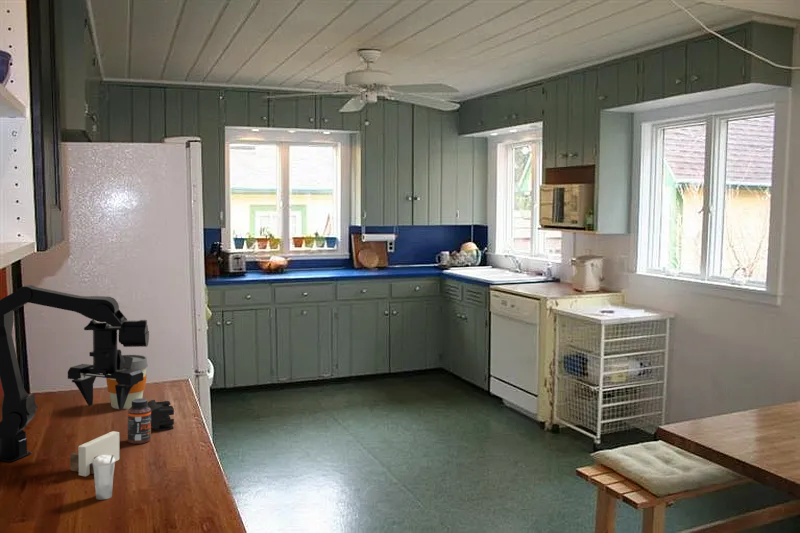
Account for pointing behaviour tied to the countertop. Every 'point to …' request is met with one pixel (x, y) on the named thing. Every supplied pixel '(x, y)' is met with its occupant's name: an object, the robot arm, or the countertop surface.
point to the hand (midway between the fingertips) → (105, 407)
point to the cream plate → (97, 450)
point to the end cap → (161, 415)
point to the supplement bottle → (139, 422)
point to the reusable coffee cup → (137, 389)
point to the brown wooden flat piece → (75, 463)
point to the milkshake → (103, 476)
